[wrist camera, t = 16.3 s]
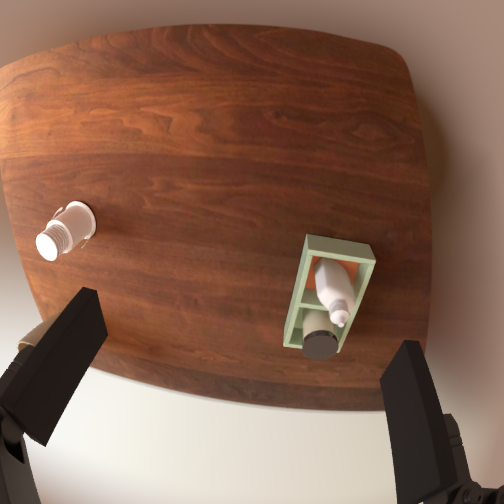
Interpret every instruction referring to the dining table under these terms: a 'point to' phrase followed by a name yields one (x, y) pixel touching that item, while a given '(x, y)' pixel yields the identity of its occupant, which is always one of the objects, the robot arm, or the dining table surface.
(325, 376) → the dining table surface
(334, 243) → the green divided tray
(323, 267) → the eye dropper bottle
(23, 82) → the dining table surface
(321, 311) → the spice jar
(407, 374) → the robot arm
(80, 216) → the downlight
